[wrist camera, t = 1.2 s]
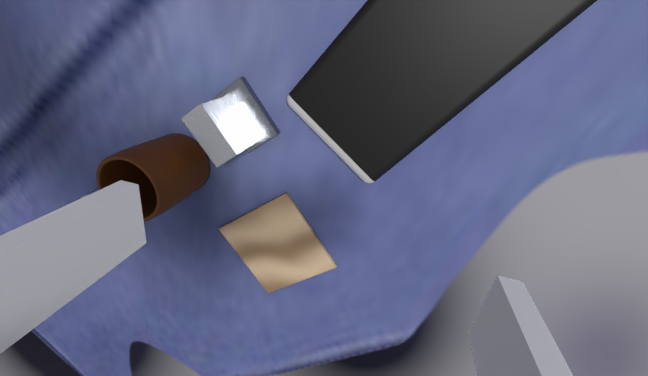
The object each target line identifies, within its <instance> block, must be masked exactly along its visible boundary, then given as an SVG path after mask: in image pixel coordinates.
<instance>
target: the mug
mask: <svg viewBox="0 0 648 376" xmlns="http://www.w3.org/2000/svg"><path fill="white" fill-rule="evenodd" d="M209 171H210V165H209V160H208V157H207V155H206V153H205V151H204V150H203V148H202V147H201V146H200V145H199V144H198V143H197V142H196V141H195V140H193V139H192V138H190V137H188V136H185V135H182V134H169V135H166V136H162V137H160V138H157V139H154V140H151V141H148V142H145V143H142V144H139V145H136V146H133V147H131V148H128V149H125V150H122V151H120V152H118V153H116V154H114V155H112V156H109V157H107V158H105V159H104V160H103V161H102V162H101V163H100V165H99V167H98V169H97V174H96V178H97V184H98V188H99V190H101V189H103V188H105V187H107V186H109V185H111V184H114V183H116V182H118V181H120V180H123V181H127V182H131V183H135V184H138V185H139V192H140V199H141V206H142V214H143V221H148V220H151V219H153V218H154V217H156V216H158V215H160V214H162V213H163V212H165V211H167V210H168V209H170V208H171V207H173V206H174V205H175V204H177V203H178V202H180V201H181V200H183V199H184V198H186V197H187V196H189V195H190V194H191V193H193V192H194V191H196V190H197V189H199V188H200V187H201V186H202V185H203V184H204V183H205V182H206V180H207V179H208V176H209Z"/></svg>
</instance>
